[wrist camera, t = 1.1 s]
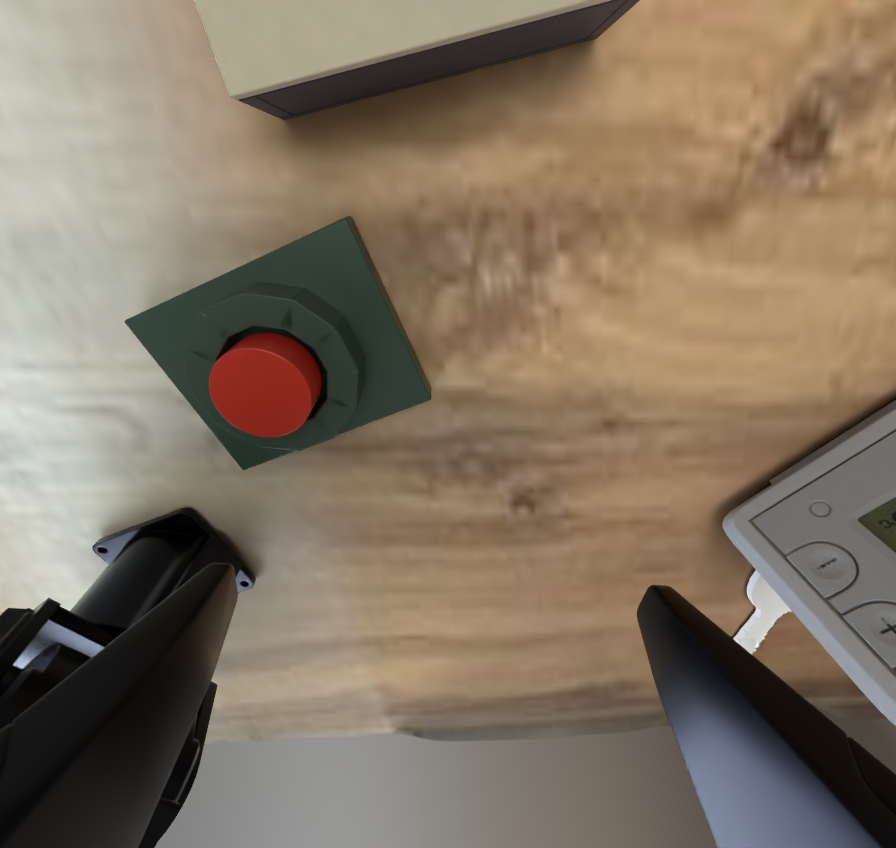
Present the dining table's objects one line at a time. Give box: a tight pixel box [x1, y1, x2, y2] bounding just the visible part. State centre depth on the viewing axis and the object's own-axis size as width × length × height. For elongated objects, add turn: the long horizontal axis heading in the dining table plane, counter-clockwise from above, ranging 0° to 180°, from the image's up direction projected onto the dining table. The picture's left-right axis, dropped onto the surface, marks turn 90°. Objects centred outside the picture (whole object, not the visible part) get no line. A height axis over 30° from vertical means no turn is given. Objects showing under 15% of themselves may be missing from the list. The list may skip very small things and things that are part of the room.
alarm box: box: [125, 216, 431, 470], centre depth 18 cm, size 10×8×3 cm
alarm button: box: [209, 333, 322, 437], centre depth 16 cm, size 4×4×2 cm
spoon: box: [733, 570, 792, 654], centre depth 30 cm, size 5×18×1 cm, turn 173°
